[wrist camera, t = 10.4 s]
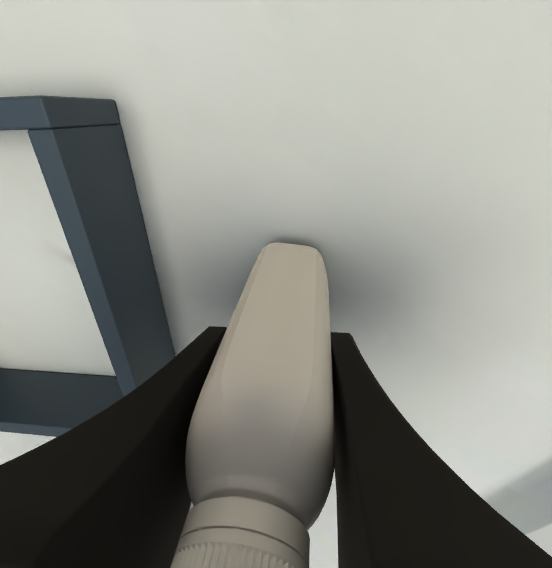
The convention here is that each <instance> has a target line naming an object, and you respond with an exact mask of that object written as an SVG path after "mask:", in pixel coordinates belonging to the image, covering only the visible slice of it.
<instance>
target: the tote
mask: <svg viewBox="0 0 552 568" xmlns="http://www.w3.org/2000/svg"><path fill="white" fill-rule="evenodd" d="M0 130H28V134H29V137H30V140H31V143H32V145H33V148H34V151H35V154H36V156H37V159H38V162H39V165H40V167H41V170H42V173H43V176H44V178H45V181H46V184H47V187H48V189H49V192H50V195H51V198H52V200H53V203H54V206H55V209H56V211H57V214H58V217H59V220H60V222H61V225H62V228H63V231H64V233H65V236H66V239H67V242H68V244H69V247H70V250H71V253H72V255H73V258H74V261H75V264H76V267H77V269H78V272H79V275H80V278H81V280H82V283H83V286H84V289H85V291H86V294H87V297H88V300H89V302H90V305H91V308H92V311H93V313H94V316H95V319H96V322H97V324H98V327H99V330H100V333H101V335H102V338H103V341H104V344H105V346H106V349H107V352H108V355H109V357H110V360H111V363H112V366H113V368H114V371H115V374H116V377H109V376H95V375H81V374H67V373H52V372H38V371H24V370H10V369H0V431H2V432H13V433H23V434H33V435H44V436H54V437H58V436H60V435H62V434H64V433H66V432H67V431H69V430H71V429H73V428H74V427H76V426H78V425H80V424H81V423H83V422H85V421H86V420H88V419H90V418H91V417H93V416H95V415H96V414H98V413H100V412H101V411H103V410H105V409H106V408H108V407H109V406H111V405H112V404H114V403H115V402H117V401H118V400H120V399H121V398H123V397H124V396H126V395H127V394H129V393H130V392H132V391H133V390H134V389H136V388H137V387H138V386H140V385H141V384H143V383H144V382H145V381H146V380H148V379H149V378H150V377H151V376H153V375H154V374H155V373H156V372H158V371H159V370H160V369H161V368H163V367H164V366H165V365H166V364H168V363H169V362H170V361H171V360H172V359H173V358H174V357H175V354H174V350H173V346H172V341H171V337H170V333H169V329H168V324H167V320H166V316H165V312H164V307H163V303H162V299H161V295H160V290H159V286H158V282H157V278H156V273H155V269H154V265H153V261H152V256H151V252H150V248H149V244H148V239H147V235H146V231H145V227H144V222H143V218H142V214H141V210H140V205H139V201H138V197H137V193H136V188H135V184H134V180H133V176H132V171H131V167H130V163H129V159H128V154H127V150H126V146H125V142H124V137H123V133H122V129H121V125H119V118H118V114H117V110H116V105H115V102H114V100H112V99H95V98H76V97H58V96H19V97H0Z"/></svg>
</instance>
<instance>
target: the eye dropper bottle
mask: <svg viewBox="0 0 552 568" xmlns="http://www.w3.org/2000/svg"><path fill="white" fill-rule="evenodd" d="M334 464H335V416H334V393H333V371H332V352H331V329H330V309H329V290H328V279H327V273H326V269H325V265H324V261H323V259H322V256H321V254H320V253H319V252H318V250H317V249H315V248H313V247H310V246H304V245H297V244H288V243H277V242H276V243H270V244H268V245H266V246H265V247H264V248H263V249H262V251H261V252H260V254H259V256H258V258H257V260H256V262H255V264H254V266H253V268H252V271H251V273H250V275H249V278H248V280H247V283H246V285H245V287H244V290H243V292H242V294H241V297H240V299H239V301H238V304H237V306H236V308H235V311H234V313H233V315H232V318H231V320H230V322H229V325H228V327H227V330H226V332H225V334H224V337H223V339H222V341H221V344H220V346H219V349H218V351H217V353H216V356H215V358H214V360H213V363H212V365H211V368H210V370H209V373H208V375H207V378H206V380H205V382H204V385H203V387H202V390H201V392H200V395H199V398H198V401H197V403H196V406H195V409H194V412H193V415H192V419H191V422H190V426H189V430H188V436H187V442H186V454H185V468H186V481H187V487H188V491H189V495H190V498H191V501H192V504H193V507H192V508H191V510H190V511H189V513H188V515H187V518H186V521H185V524H184V527H183V530H182V533H181V536H180V539H179V542H178V545H177V548H176V551H175V555H174V558H173V561H172V564H171V567H170V568H309V547H310V538H309V534H308V531H307V530H308V529H309V528H310V527H311V526H312V525H313V524H314V522H315V521H316V520H317V518H318V516H319V515H320V513H321V511H322V509H323V507H324V505H325V502H326V500H327V497H328V494H329V491H330V487H331V483H332V478H333V473H334Z"/></svg>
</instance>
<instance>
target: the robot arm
mask: <svg viewBox="0 0 552 568" xmlns="http://www.w3.org/2000/svg"><path fill="white" fill-rule="evenodd" d="M226 330H227V327H212V326H209V327H208V328H207V329H206V330H205V331H204V332H202V333H201V334H200V335H199V336H198V337H197V338H196V339H195V340H194V341H192V342H191V343H190V344H189V345H188V346H187V347H186V348H185V349H184V350H182V351H181V352H180V353H179V354H178V355H177V356H176V357H174V358H173V359H172V360H171V361H170V362H169V363H168V364H166V365H165V366H164V367H163V368H161V369H160V370H159V371H158V372H156V373H155V374H154V375H153V376H151V377H150V378H149V379H148V380H146V381H145V382H144V383H143V384H141V385H140V386H138V387H137V388H136V389H134V390H133V391H132V392H130V393H129V394H127V395H126V396H124V397H123V398H121V399H120V400H118V401H117V402H115V403H114V404H112V405H111V406H109V407H108V408H106V409H105V410H103V411H101V412H100V413H98V414H96V415H95V416H93V417H91V418H90V419H88V420H86V421H85V422H83V423H81V424H80V425H78V426H76V427H74V428H73V429H71V430H69V431H67V432H66V433H64V434H62V435H60V436H58V437H56V438H54V439H53V440H51V441H49V442H47V443H45V444H43V445H41V446H39V447H37V448H35V449H33V450H31V451H29V452H27V453H25V454H23V455H21V456H19V457H17V458H15V459H13V460H10V461H8V462H6V463H4V464H2V465H0V568H170V567H171V564H172V561H173V558H174V555H175V551H176V548H177V545H178V542H179V539H180V536H181V533H182V530H183V527H184V524H185V521H186V518H187V515H188V513H189V511H190V510H191V508H192V507H193V504H192V501H191V498H190V495H189V491H188V487H187V481H186V468H185V454H186V442H187V436H188V430H189V426H190V422H191V419H192V415H193V412H194V409H195V406H196V403H197V401H198V398H199V395H200V392H201V390H202V387H203V385H204V382H205V380H206V378H207V375H208V373H209V370H210V368H211V365H212V363H213V360H214V358H215V356H216V353H217V351H218V349H219V346H220V344H221V341H222V339H223V337H224V334H225V332H226ZM331 352H332V371H333V393H334V416H335V464H334V469H335V478H336V492H337V525H338V566H339V568H552V557H551V556H550V555H549V554H547V553H546V552H545V551H544V550H543V549H541V548H540V547H539V546H538V545H536V544H535V543H534V542H533V541H532V540H530V539H529V538H528V537H527V536H525V535H524V534H523V533H522V532H521V531H520V530H518V529H517V528H516V527H515V526H513V525H512V524H511V523H510V522H509V521H507V520H506V519H505V518H504V517H503V516H501V515H500V514H499V513H498V512H497V511H495V510H494V509H493V508H492V507H491V506H490V505H489V504H488V503H486V502H485V501H484V500H483V499H482V498H481V497H480V496H479V495H478V494H477V493H476V492H474V491H473V490H472V489H471V488H470V487H469V486H468V485H467V484H466V483H465V482H464V481H463V480H462V479H461V478H460V477H459V476H458V475H457V474H456V473H455V472H454V471H453V470H452V469H451V468H450V467H449V466H448V465H447V464H446V463H445V462H444V461H443V460H442V459H441V458H440V457H439V456H438V455H437V454H436V453H435V452H434V451H433V450H432V449H431V448H430V447H429V446H428V445H427V443H426V442H425V441H424V440H423V439H422V438H421V437H420V436H419V435H418V433H417V432H416V431H415V430H414V429H413V428H412V426H411V425H410V424H409V423H408V422H407V420H406V419H405V418H404V417H403V416H402V414H401V413H400V412H399V410H398V409H397V408H396V407H395V405H394V404H393V403H392V401H391V400H390V398H389V397H388V396H387V394H386V393H385V392H384V390H383V389H382V387H381V386H380V384H379V383H378V381H377V380H376V378H375V377H374V375H373V373H372V372H371V370H370V369H369V367H368V365H367V364H366V362H365V360H364V359H363V357H362V355H361V353H360V351H359V349H358V347H357V345H356V343H355V341H354V339H353V337H352V335H351V334H350V333H337V332H331Z"/></svg>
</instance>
